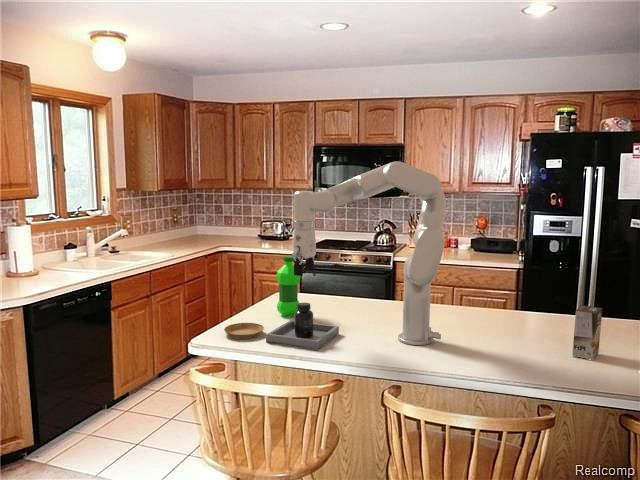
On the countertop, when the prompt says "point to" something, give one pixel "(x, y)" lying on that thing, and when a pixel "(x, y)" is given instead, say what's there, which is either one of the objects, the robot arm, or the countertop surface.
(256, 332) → the plant saucer
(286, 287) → the plastic bottle
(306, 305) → the supplement bottle
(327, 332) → the tray
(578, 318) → the coffee box
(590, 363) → the countertop surface
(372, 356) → the countertop surface
